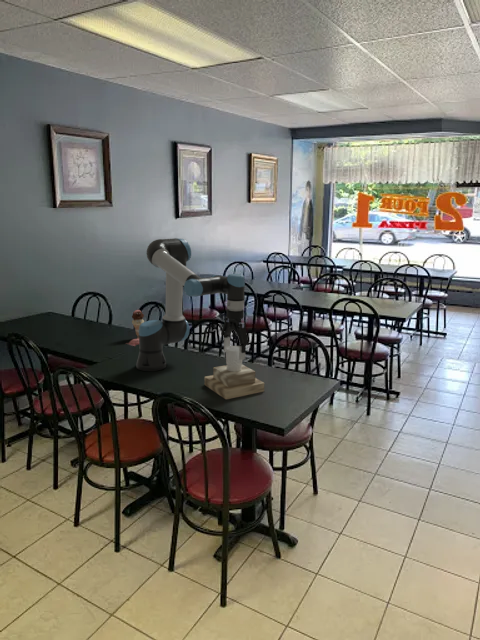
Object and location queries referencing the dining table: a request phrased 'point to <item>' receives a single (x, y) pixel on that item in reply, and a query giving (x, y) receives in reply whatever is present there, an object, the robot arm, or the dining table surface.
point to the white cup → (233, 359)
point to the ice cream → (136, 325)
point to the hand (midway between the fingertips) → (234, 355)
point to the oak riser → (233, 382)
